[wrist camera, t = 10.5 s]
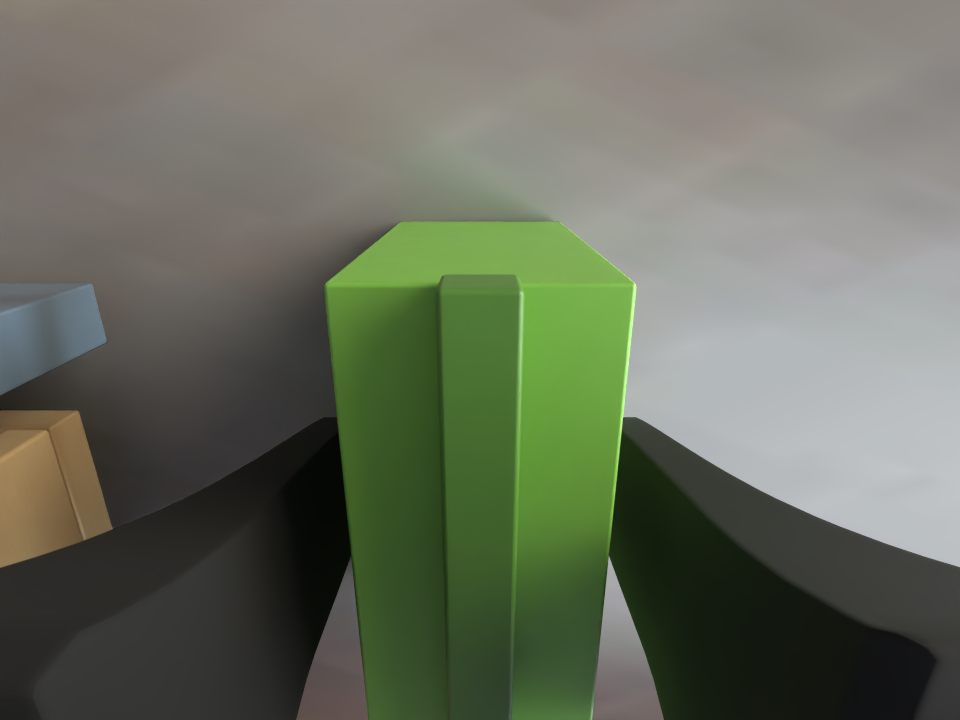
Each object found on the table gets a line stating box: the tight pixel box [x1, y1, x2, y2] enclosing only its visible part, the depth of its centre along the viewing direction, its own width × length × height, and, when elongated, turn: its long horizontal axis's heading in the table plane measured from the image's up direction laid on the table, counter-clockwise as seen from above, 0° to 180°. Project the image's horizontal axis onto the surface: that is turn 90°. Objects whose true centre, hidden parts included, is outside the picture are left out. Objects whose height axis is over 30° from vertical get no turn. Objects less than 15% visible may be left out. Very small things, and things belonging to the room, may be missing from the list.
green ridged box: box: [324, 222, 636, 720], centre depth 9 cm, size 3×9×6 cm, turn 0°
